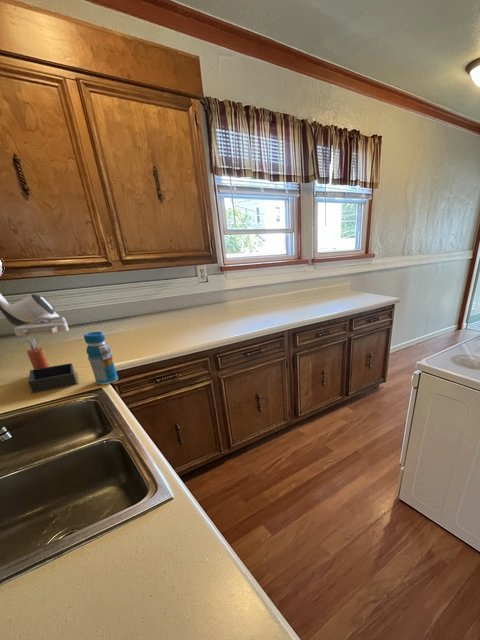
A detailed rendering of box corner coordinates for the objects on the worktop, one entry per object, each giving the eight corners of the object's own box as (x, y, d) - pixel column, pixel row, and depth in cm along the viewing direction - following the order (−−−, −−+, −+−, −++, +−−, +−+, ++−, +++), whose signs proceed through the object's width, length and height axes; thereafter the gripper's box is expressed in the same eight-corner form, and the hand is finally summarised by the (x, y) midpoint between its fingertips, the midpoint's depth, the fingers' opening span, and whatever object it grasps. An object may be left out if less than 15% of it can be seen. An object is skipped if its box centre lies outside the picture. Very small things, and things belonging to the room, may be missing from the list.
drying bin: (32, 392, 125) (28, 381, 123) (34, 380, 136) (30, 370, 134) (77, 383, 133) (73, 373, 131) (75, 372, 143) (71, 363, 141)
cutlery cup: (36, 377, 139) (20, 339, 131) (36, 373, 143) (21, 336, 135) (52, 375, 141) (37, 337, 134) (52, 371, 145) (38, 334, 138)
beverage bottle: (94, 386, 130) (79, 337, 121) (97, 378, 137) (82, 332, 128) (118, 383, 133) (104, 335, 124) (119, 375, 140) (106, 330, 131)
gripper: (16, 321, 151) (6, 328, 140) (67, 316, 158) (62, 323, 147) (21, 334, 154) (12, 342, 143) (72, 329, 161) (67, 336, 150)
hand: (38, 332), depth 145 cm, fingers open, 8 cm apart
